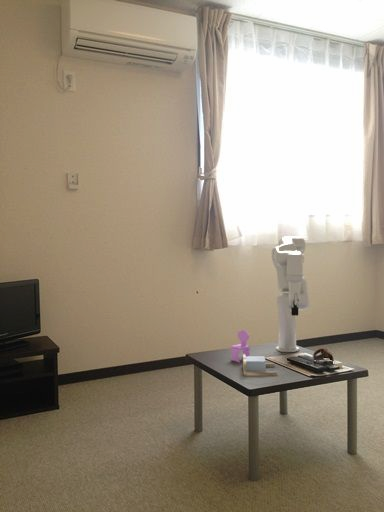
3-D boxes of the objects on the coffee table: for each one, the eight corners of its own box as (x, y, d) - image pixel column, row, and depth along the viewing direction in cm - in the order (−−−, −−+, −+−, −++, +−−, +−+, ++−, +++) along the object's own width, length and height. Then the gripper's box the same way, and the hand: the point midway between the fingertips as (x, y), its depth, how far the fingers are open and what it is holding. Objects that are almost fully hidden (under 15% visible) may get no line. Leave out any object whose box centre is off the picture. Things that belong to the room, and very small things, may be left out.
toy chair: (229, 359, 246) (228, 331, 245) (241, 356, 251) (241, 328, 250) (240, 363, 239) (239, 333, 238) (252, 360, 244) (252, 331, 244)
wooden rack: (243, 365, 234) (242, 353, 234) (274, 366, 233) (274, 353, 232) (243, 375, 218) (243, 362, 218) (277, 375, 217) (277, 363, 217)
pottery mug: (335, 367, 231) (327, 353, 230) (318, 373, 235) (309, 359, 234) (336, 354, 242) (328, 341, 241) (319, 361, 246) (311, 348, 245)
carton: (245, 368, 230) (245, 356, 230) (264, 368, 230) (264, 356, 229) (246, 374, 221) (246, 361, 221) (265, 374, 221) (265, 361, 220)
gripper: (285, 276, 239) (285, 311, 241) (288, 280, 224) (288, 318, 226) (300, 276, 238) (300, 312, 240) (304, 280, 224) (304, 318, 225)
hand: (294, 315), depth 233 cm, fingers closed
